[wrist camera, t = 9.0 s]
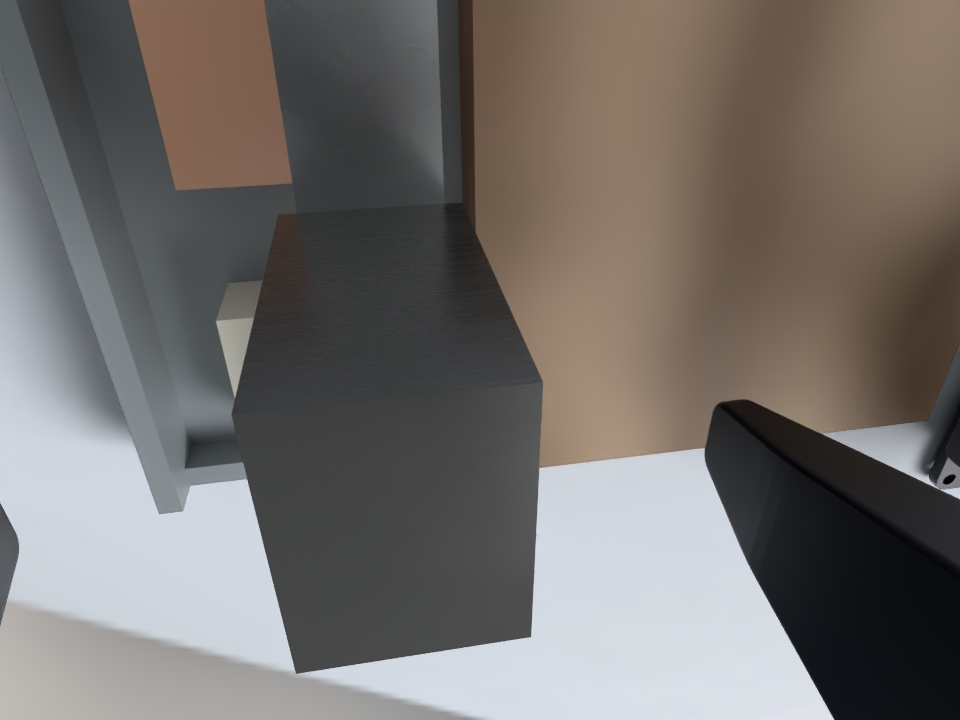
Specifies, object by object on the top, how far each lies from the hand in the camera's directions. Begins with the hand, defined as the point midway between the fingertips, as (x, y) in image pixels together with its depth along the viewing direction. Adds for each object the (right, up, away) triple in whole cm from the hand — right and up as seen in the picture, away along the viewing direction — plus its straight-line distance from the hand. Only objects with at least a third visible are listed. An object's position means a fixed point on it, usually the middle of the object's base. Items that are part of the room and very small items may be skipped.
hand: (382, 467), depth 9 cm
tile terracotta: (-3, +8, +6) cm, 10 cm away
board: (+8, +6, +10) cm, 14 cm away
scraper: (-1, +4, +6) cm, 7 cm away
